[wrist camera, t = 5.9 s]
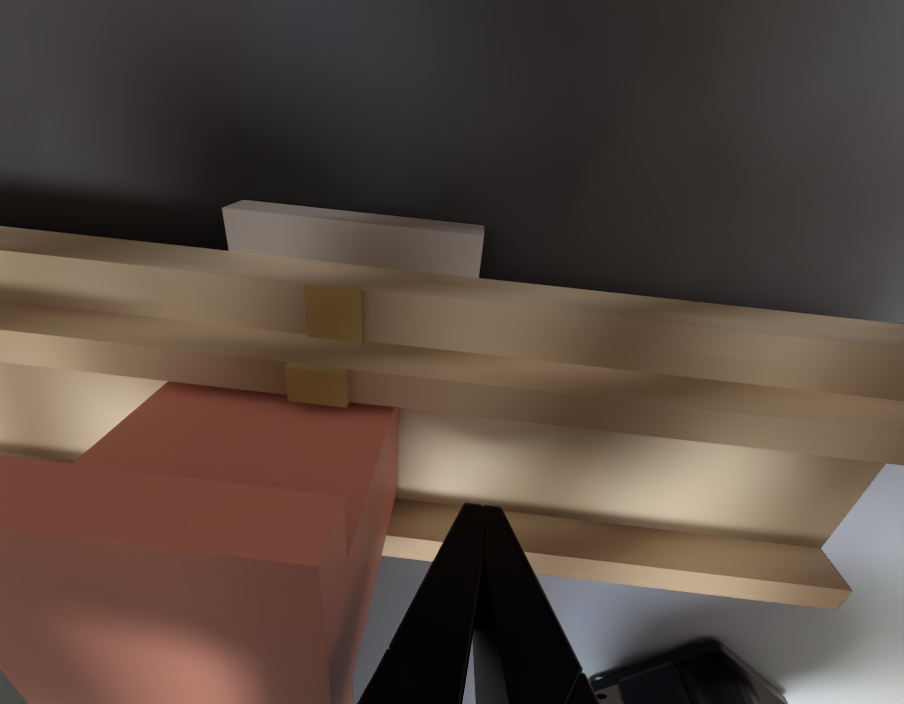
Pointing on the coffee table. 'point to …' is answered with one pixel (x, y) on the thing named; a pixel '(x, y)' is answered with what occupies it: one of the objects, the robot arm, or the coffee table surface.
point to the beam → (480, 389)
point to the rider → (198, 553)
